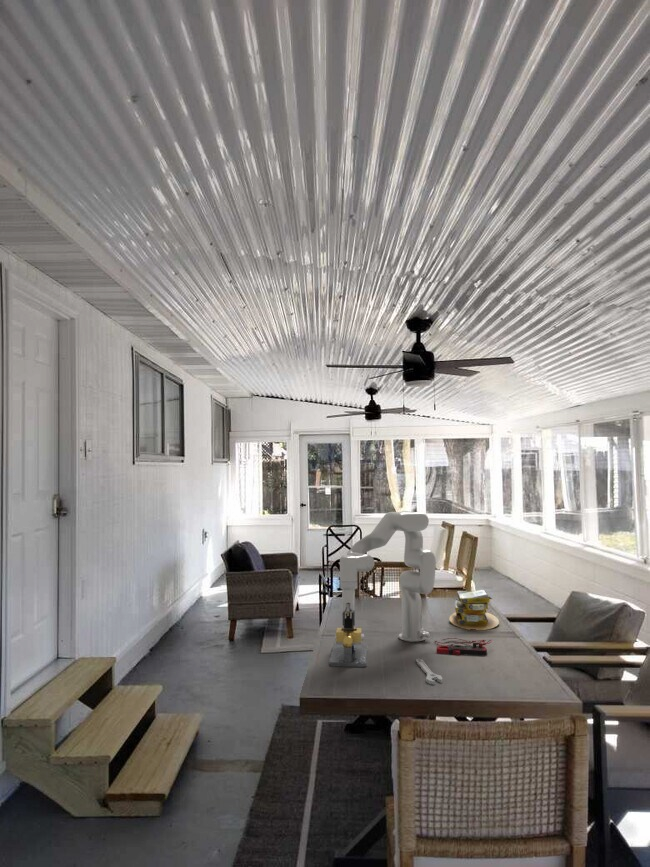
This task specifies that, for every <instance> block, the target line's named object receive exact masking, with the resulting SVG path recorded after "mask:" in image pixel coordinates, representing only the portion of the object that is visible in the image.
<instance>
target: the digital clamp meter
mask: <svg viewBox="0 0 650 867" xmlns="http://www.w3.org/2000/svg"><path fill="white" fill-rule="evenodd" d="M451 639H453V640H451ZM445 640H448V641H446V642H440V641H438V640H434V642H436V645H438V646H437V647H436V653H437V654H444V653H445V654H446V655H457V656H459V655H464V654H467V656H468V655H469V656H487V655H488V649H487V647H485V646H486V645H488V644H491V643H492V639H490V640H485V639H481V640H479V639H478V640H471V641H472V642H471V641H470V640H468V641H469V642H467V640H465V639H461V638H456V637H447V638H443V639H442V641H445ZM449 640H450V641H449ZM454 640H455V641H454ZM456 640H460V641H456ZM476 641H480V642H476ZM450 643H451V644H450ZM471 643H473V644H472V645H469V644H471ZM445 644H446V645H445ZM459 644H461V645H459Z"/></svg>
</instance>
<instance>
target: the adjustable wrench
mask: <svg viewBox="0 0 650 867" xmlns="http://www.w3.org/2000/svg"><path fill="white" fill-rule="evenodd" d="M416 662H417V663H416ZM415 663H416V664H417V665H418V667H421V668H420V669H421V670H422V671H423V672H424V674H425V673H426V674H425V675H426V676H425V677H426V678H425V682H426V683H427V684H429V685H436V682H438V683H440V684H443V676H442V675H440V674H436V673H434V672H433V671H432V670H431V668H429V666H428V665H427V664H426V662H425V661H424V660H423V659H421V658H416V659H415Z"/></svg>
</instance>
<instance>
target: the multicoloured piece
mask: <svg viewBox="0 0 650 867" xmlns="http://www.w3.org/2000/svg"><path fill="white" fill-rule="evenodd" d="M334 639H335V643H333V646H332V650H331V654H330V658H329V661H328V663H329V664H328V665H329V667H351V668H357V667H358V668H367V657H368V644H366V643H363V644H362V641H364V640H365V633H362V627H356V625H355V626H354V631H344V627H336V631H335V634H334Z"/></svg>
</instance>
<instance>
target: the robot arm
mask: <svg viewBox="0 0 650 867" xmlns="http://www.w3.org/2000/svg"><path fill="white" fill-rule="evenodd" d="M429 522H430V521H429V517H428V515H427V514H426V513H424V512H420V511H409V510H408V511H407V510H403V511H389V512H386V513H385V514H384V515H383V516H382V518H381V520H379V522H378V524H377V525H376V526H375V527H374V529H373V530H372V531H371V532H370V533H369V534H368V535H365V536H363V537H362V538H360V539H359V540H358V541H356V542H355V543H354V544H353V545H352V546H351V548H350V549H349V551H348V552H347V554H345V555H342V556H340V558H339V588H340V589H341V590H342V592H341V612H343V613H344V612H345V628H352V613H353V611H354V610H355V600H356V599H355V595H356V594H355V593H356V592H355V591H356V590H357V589H358V573H359V572H362V573H363V572H369V571H372V570H373V569H374V566H375V559H374V557H373V556H371V555H370V554H367V553H368V552H370V551H372V550H376V549H379V548H382V547H384V546H386V545H387V544H388V542H389V541H390V540H391V538H392V537H393V536H394V534H395V533H396V532H397V531H399V532H403V534H404V537H405V538H404V539H405V540H404V541H405V542H404V553H403V554H404V555H403V561H404V564H405V566H407V567H409V568H412V569H417V570H419V571H417V570H411V569H408V570H404V571H402V572H401V573H400V575H399V577H398V584H399V589H400V595H401V596H400V597H401V632H400V633H399V634H398V639H400V640H402V641H405V642H408V643H409V642H410V643H411V642H412V643H414V642H417V643H418V642H424V640H426V638H430V637H431V634H430V632H428V631H425V628H423V615H422V614H423V611H422V610H423V606H422V603H423V602H422V596H421V594H422V595H429V594H431V592H433V590H434V587H435V579H436V566H437V565H436V563H437V559H436V556H435V553H434V552H432V550H430V549H424V545H423V544H424V537H423V534H422V531H424V530H425V529H426V528H428V526H429Z"/></svg>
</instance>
